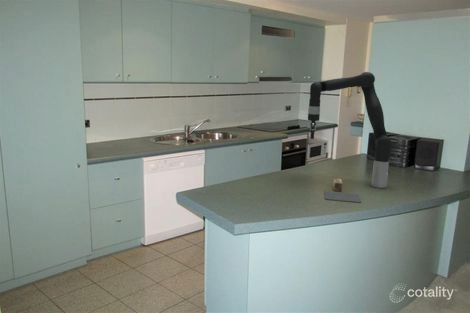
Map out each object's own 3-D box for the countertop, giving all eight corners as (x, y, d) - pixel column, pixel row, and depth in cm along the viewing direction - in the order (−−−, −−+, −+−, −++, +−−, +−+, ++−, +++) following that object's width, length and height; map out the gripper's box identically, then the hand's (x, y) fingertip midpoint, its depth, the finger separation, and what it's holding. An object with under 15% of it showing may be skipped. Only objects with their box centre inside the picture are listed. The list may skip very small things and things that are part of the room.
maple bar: (340, 186, 261) (341, 178, 260) (341, 191, 250) (342, 183, 249) (333, 185, 262) (334, 178, 261) (334, 191, 250) (334, 183, 249)
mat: (358, 195, 243) (358, 194, 243) (361, 203, 229) (361, 202, 229) (324, 192, 247) (324, 191, 247) (325, 199, 233) (325, 198, 233)
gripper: (319, 114, 256) (317, 139, 260) (319, 112, 270) (317, 136, 273) (307, 114, 258) (306, 139, 261) (308, 111, 271) (306, 135, 275)
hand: (312, 137), depth 267 cm, fingers open, 8 cm apart
